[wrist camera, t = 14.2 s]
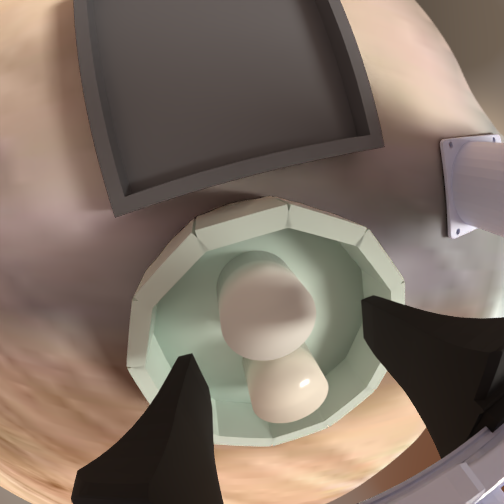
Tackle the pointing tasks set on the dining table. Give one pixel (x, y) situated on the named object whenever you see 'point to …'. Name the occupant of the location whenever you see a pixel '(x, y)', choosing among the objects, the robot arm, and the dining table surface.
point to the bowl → (208, 321)
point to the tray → (217, 91)
